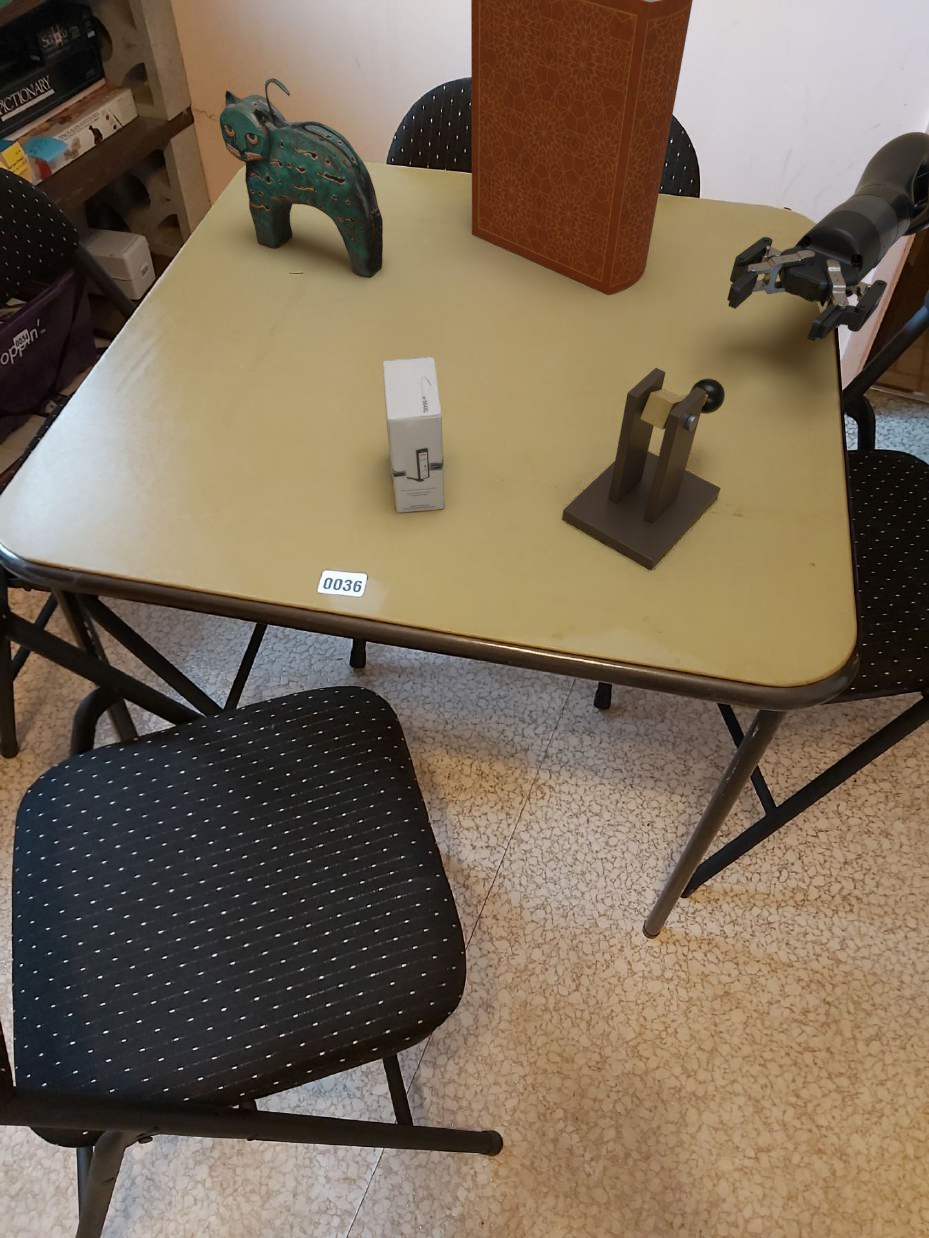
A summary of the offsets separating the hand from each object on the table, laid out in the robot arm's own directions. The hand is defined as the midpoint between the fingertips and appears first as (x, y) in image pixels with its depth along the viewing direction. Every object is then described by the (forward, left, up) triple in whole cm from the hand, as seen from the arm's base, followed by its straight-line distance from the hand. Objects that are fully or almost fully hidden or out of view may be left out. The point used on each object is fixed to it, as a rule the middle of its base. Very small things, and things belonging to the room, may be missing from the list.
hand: (772, 315), depth 81 cm
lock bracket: (0, +20, -10) cm, 23 cm away
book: (+33, -12, -11) cm, 37 cm away
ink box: (+19, +31, -11) cm, 38 cm away
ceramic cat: (+57, +8, -11) cm, 59 cm away
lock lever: (0, +16, -2) cm, 16 cm away
